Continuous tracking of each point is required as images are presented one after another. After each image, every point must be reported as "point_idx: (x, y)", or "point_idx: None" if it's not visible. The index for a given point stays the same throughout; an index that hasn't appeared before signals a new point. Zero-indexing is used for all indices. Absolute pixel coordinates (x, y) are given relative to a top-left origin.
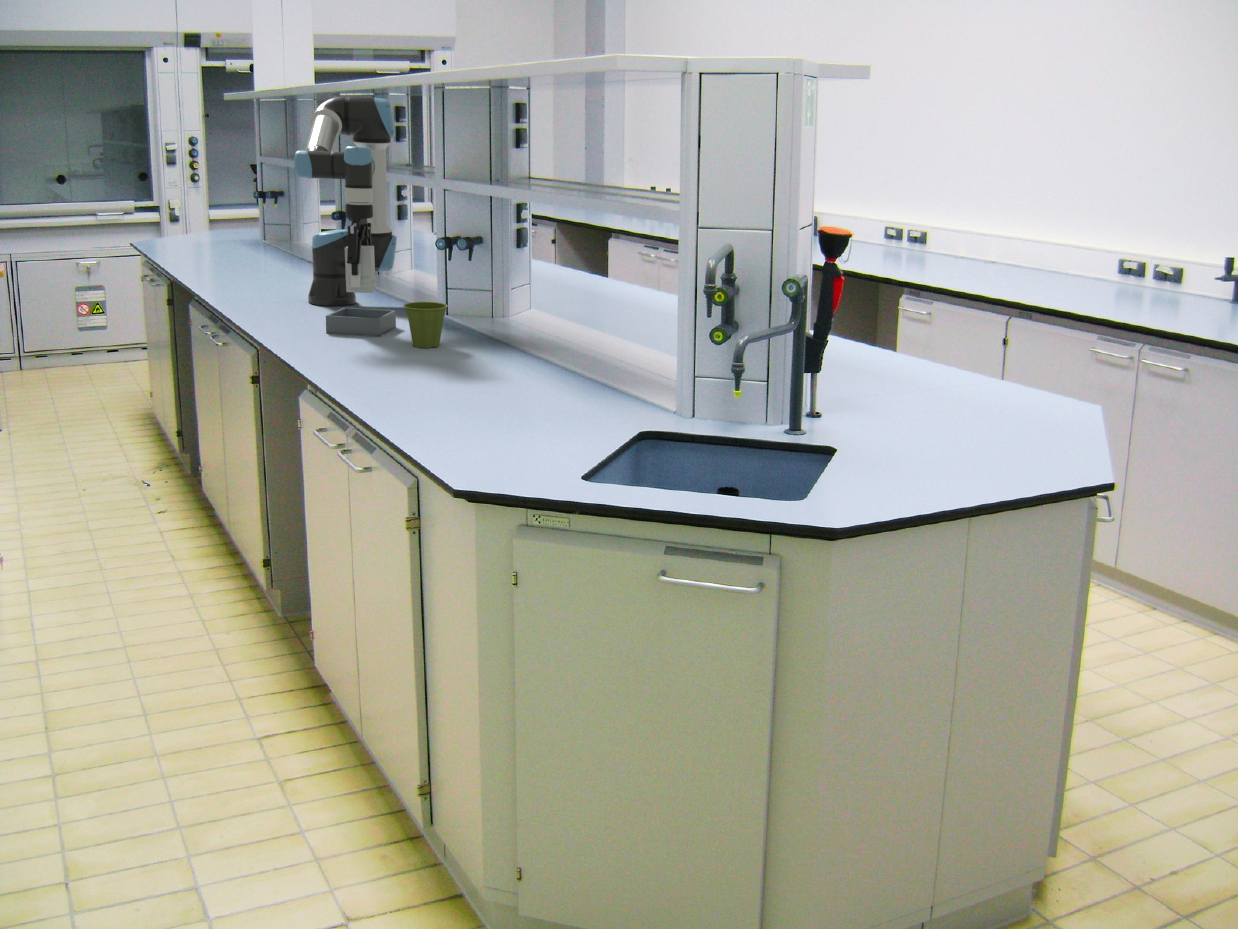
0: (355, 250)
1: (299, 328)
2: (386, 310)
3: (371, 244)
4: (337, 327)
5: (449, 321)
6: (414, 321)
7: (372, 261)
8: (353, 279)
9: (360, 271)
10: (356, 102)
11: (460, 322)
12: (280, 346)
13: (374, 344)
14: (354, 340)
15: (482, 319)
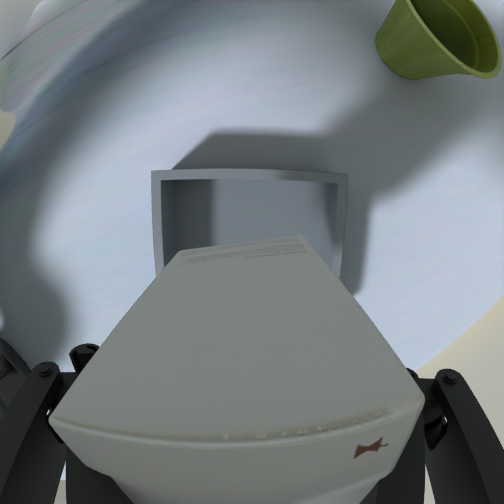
0: (487, 428)
1: None
2: (161, 201)
3: (4, 426)
4: None
5: (57, 85)
6: (470, 61)
7: (275, 311)
8: None
9: None
10: None
11: (65, 59)
12: (450, 338)
13: (424, 168)
14: (392, 227)
15: (33, 46)
